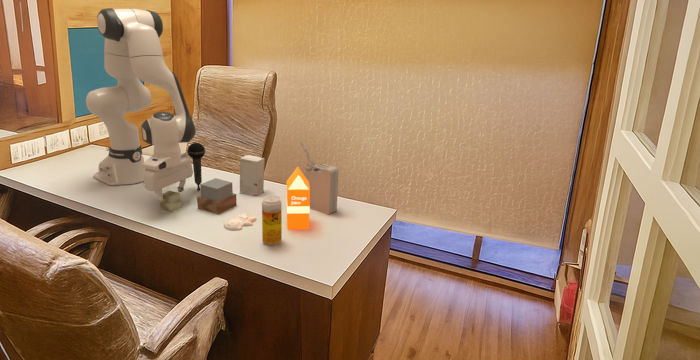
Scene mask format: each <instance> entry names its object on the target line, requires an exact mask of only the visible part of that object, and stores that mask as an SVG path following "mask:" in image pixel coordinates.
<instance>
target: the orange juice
mask: <svg viewBox="0 0 700 360" xmlns="http://www.w3.org/2000/svg"><path fill="white" fill-rule="evenodd" d="M310 209H311V208H310V187H309V182H308V180H307V179H306V177H305V176H304V173H303V172H302V171H301V169H300V167H299V166H297V167H296V168H295V169H294V171H293V172H292V174H291V175H290V176H289V178H288V179H287V180H286V228H287V230H309V229H310Z"/></svg>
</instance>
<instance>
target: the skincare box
mask: <svg viewBox="0 0 700 360" xmlns="http://www.w3.org/2000/svg"><path fill="white" fill-rule="evenodd" d="M239 161H240V162H239V193H240V194H246V195H252V196H255V197H258V196H259V195H260V194H262V193H264V186H265V184H264V182H265V157H261V156H256V155H250V154H246V155H244V156H241V157H240V159H239Z"/></svg>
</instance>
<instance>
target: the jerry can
mask: <svg viewBox="0 0 700 360" xmlns="http://www.w3.org/2000/svg"><path fill="white" fill-rule="evenodd" d="M300 145H301V147H302V148H303V151H304V152H305V155H306V160H307V162H306V163H307V165H303V169H304V170H305V172H304V173H303V175H304V176H305V177H306V179H307V180H308V182H309V187H310V209H312V210H315V211H316V212H319V213H322V214H325V215H330V214H332V213H335V212H337V210H338V192H339V191H338V187H339V169H338V167H337V166H333V165H328V164H326V163H325V164H324V163H320V164H318V163H315V162H314V161H313V160H311V158H310V153H309V150H308V148H307V146H306V144H305V142H304V141H301V142H300Z"/></svg>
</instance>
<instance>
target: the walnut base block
mask: <svg viewBox="0 0 700 360" xmlns="http://www.w3.org/2000/svg"><path fill="white" fill-rule="evenodd" d="M237 201H238V199H237V194H236V193H233V195H232V196H229V197H227V198H225V199H223V200H221V201H219V202H217V201H213V200H210V199H206V198H202V197H201V194H200V195H198V196H196V205H197V209H198V210H201V211H204V212H207V213H210V214H211V213H212V214H215V215H219V216H220V215H221V214H223V213H225V212H227V211H229V210H231V209H233V208H234V207H237V206H238V205H237Z"/></svg>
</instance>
